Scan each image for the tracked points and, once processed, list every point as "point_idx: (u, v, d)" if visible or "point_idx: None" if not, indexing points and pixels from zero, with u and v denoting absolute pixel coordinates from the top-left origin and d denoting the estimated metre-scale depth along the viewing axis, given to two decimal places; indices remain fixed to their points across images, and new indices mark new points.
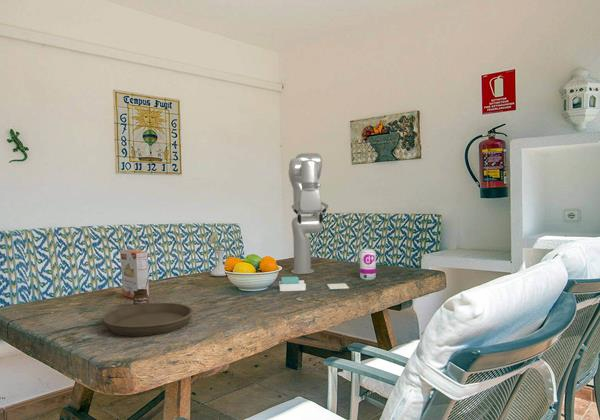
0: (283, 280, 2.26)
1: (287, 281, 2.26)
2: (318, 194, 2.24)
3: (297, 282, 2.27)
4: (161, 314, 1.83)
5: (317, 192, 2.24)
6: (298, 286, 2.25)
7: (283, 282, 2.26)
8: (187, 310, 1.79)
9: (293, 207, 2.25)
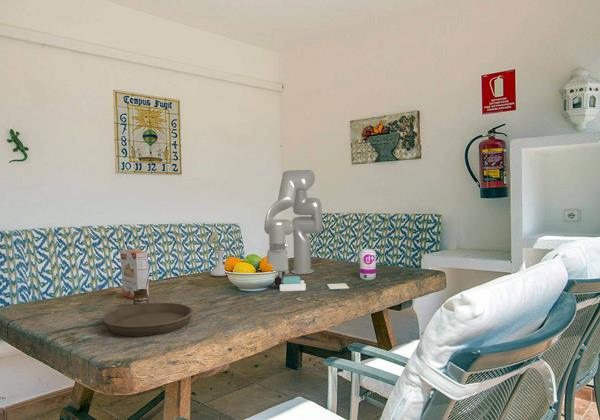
0: (285, 280, 2.26)
1: (288, 281, 2.26)
2: (285, 255, 2.26)
3: (299, 282, 2.27)
4: (161, 314, 1.83)
5: (284, 253, 2.26)
6: (298, 286, 2.25)
7: (285, 282, 2.26)
8: (187, 310, 1.79)
9: None
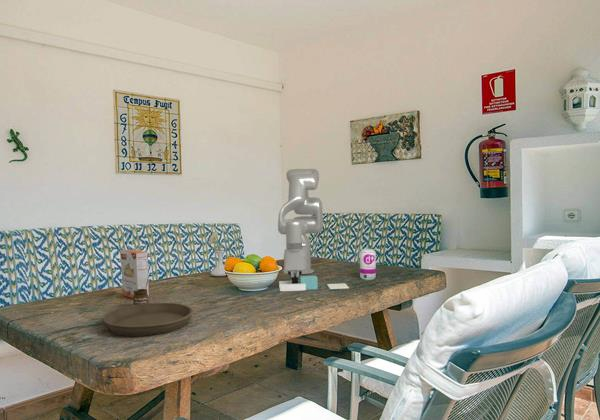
0: (302, 279, 2.27)
1: (305, 280, 2.27)
2: (302, 254, 2.27)
3: (316, 281, 2.27)
4: (161, 314, 1.83)
5: (301, 252, 2.26)
6: (298, 286, 2.25)
7: (302, 281, 2.27)
8: (187, 310, 1.79)
9: (285, 272, 2.28)
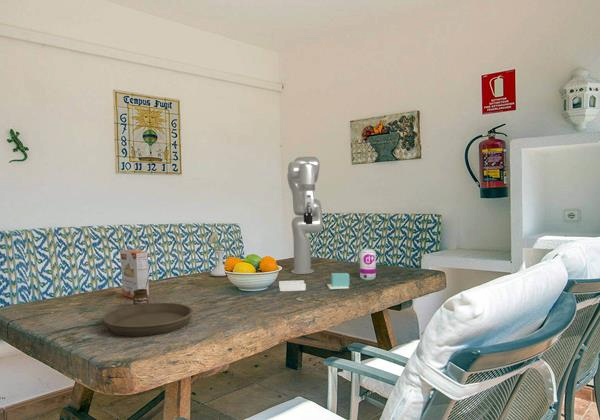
0: (334, 276, 2.29)
1: (337, 278, 2.29)
2: (304, 196, 2.33)
3: (348, 278, 2.30)
4: (161, 314, 1.83)
5: (303, 194, 2.33)
6: (298, 286, 2.25)
7: (334, 278, 2.29)
8: (187, 310, 1.79)
9: None
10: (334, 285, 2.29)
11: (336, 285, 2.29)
